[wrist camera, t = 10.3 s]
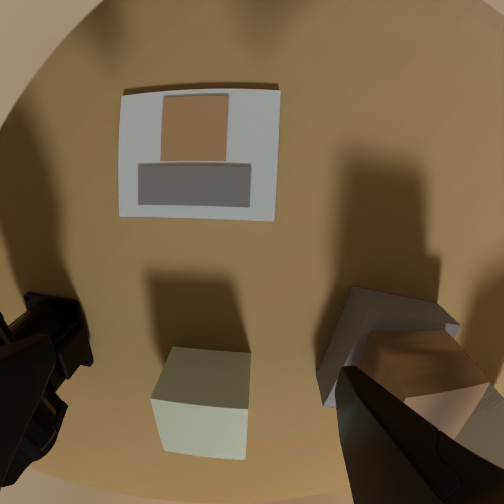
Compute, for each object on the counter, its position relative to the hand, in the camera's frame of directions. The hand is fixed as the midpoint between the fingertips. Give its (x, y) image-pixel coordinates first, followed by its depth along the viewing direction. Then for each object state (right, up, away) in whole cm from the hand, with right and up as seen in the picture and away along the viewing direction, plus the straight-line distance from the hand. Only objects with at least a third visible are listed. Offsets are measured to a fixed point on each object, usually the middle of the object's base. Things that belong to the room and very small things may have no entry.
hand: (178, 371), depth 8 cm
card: (-1, +9, +10) cm, 14 cm away
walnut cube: (+12, -5, +10) cm, 16 cm away
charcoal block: (+12, -3, +14) cm, 19 cm away
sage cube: (-1, -7, +15) cm, 16 cm away
